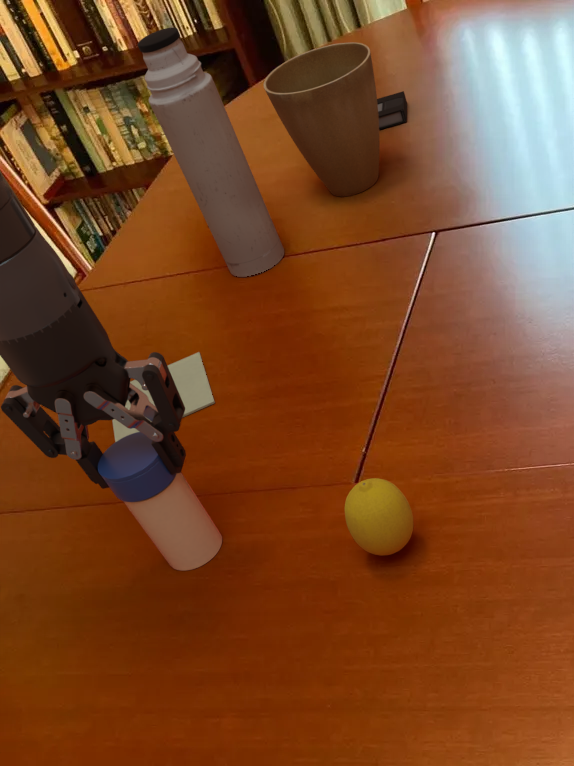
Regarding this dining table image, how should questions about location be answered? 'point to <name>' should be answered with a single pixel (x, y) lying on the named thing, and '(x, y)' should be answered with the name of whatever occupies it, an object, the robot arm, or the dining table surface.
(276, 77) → the plant pot
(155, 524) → the jar
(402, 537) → the lemon
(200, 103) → the thermos bottle
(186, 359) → the mat
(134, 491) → the lid
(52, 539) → the dining table surface
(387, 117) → the vhs tape
